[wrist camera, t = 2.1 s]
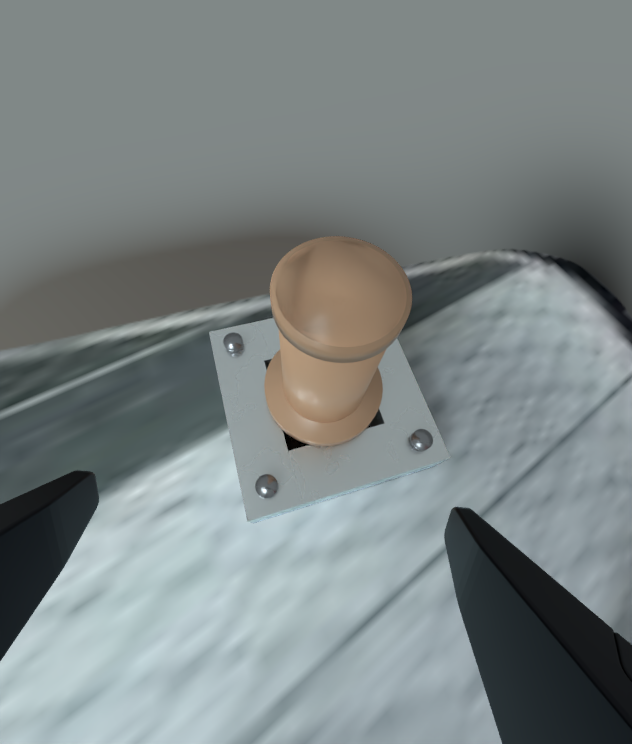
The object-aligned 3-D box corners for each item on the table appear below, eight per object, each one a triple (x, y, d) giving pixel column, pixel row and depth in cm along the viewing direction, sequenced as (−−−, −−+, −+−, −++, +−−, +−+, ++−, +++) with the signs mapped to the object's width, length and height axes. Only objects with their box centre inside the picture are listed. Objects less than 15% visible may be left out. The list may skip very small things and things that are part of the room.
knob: (385, 389, 25) (461, 263, 14) (342, 477, 23) (391, 414, 11) (300, 347, 27) (304, 196, 15) (249, 425, 24) (204, 318, 12)
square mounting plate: (432, 466, 23) (455, 455, 20) (253, 523, 21) (246, 521, 18) (369, 318, 28) (379, 289, 25) (218, 353, 26) (206, 327, 23)
